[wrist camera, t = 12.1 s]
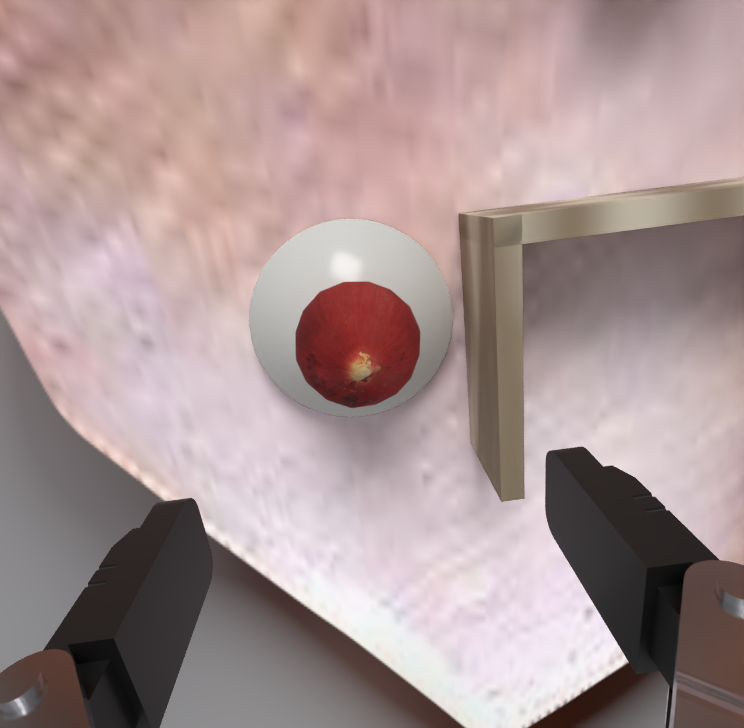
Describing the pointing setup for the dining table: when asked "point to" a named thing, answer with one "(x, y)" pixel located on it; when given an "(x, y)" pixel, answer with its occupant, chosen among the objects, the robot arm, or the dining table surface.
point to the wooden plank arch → (505, 296)
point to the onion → (357, 343)
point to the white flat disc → (331, 267)
